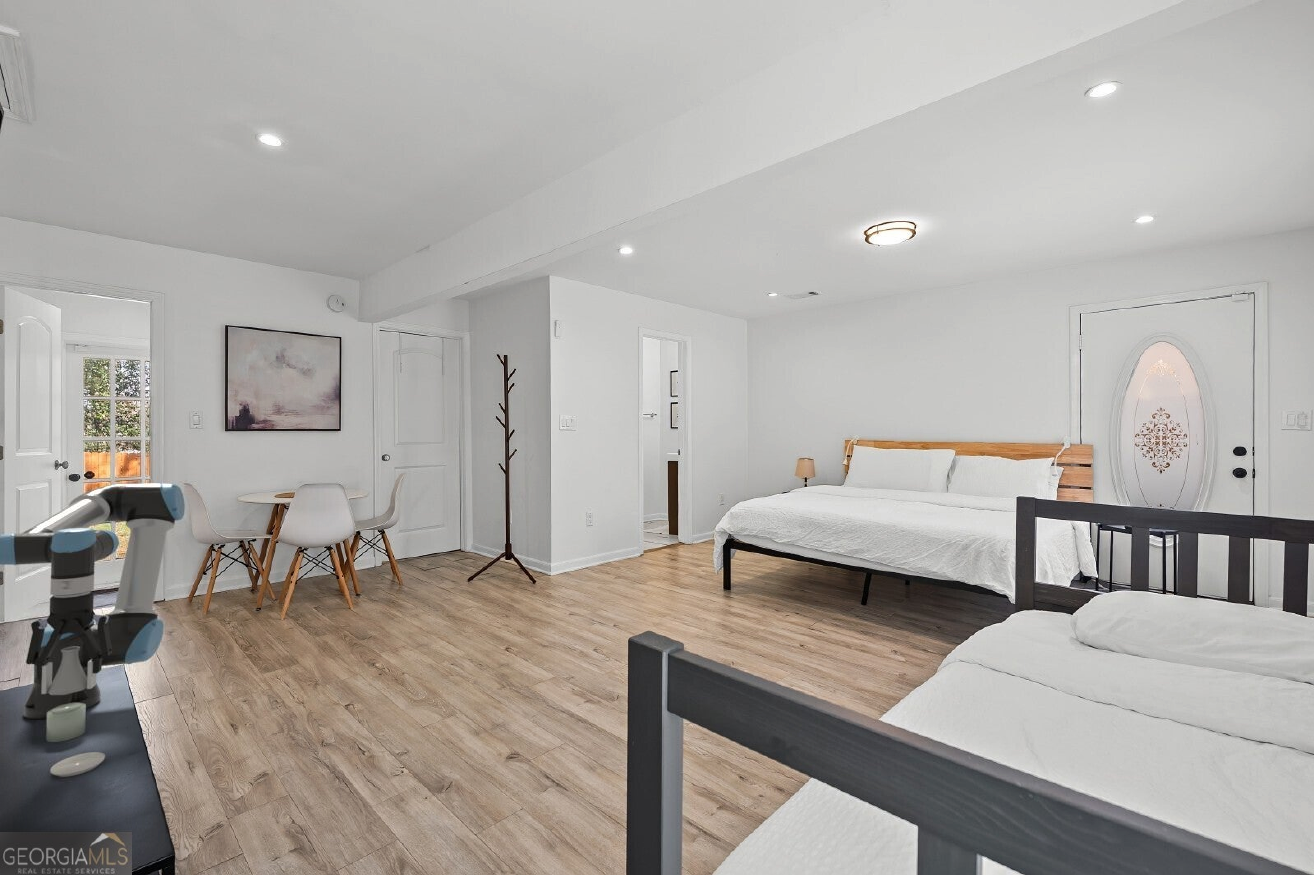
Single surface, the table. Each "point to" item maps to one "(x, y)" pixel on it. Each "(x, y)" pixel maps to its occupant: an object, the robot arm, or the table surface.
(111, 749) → the table surface
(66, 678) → the flask
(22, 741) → the table surface
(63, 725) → the white cylindrical tub
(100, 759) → the dish
